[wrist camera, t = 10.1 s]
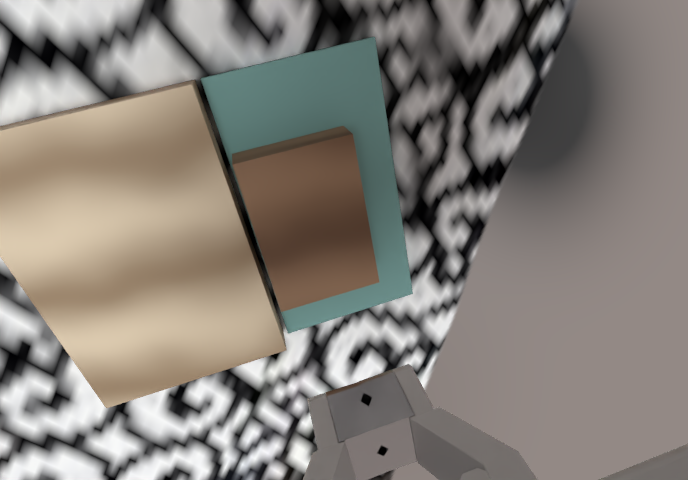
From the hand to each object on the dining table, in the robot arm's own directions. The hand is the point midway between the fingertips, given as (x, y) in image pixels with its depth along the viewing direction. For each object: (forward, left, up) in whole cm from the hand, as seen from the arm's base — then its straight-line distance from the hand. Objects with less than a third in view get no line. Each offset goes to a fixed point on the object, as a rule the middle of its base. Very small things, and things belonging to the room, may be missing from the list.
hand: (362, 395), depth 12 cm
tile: (+1, +1, -14) cm, 14 cm away
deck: (0, -8, -15) cm, 17 cm away
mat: (0, +2, -15) cm, 15 cm away
